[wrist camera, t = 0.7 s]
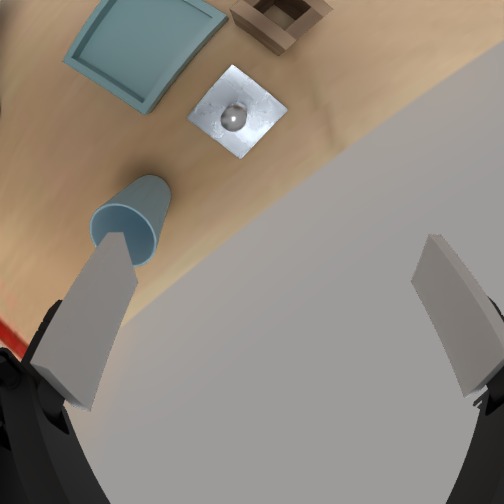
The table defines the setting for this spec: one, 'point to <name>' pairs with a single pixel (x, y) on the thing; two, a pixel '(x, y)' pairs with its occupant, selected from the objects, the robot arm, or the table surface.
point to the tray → (142, 45)
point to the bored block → (270, 34)
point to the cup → (134, 217)
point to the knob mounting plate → (236, 112)
